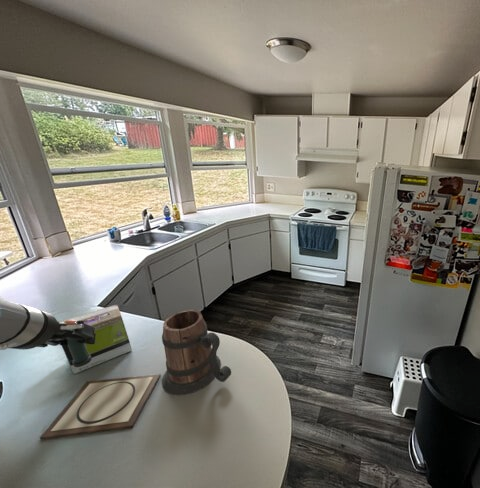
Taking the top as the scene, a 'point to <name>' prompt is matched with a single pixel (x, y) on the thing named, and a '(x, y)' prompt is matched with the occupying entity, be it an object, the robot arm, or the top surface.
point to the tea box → (102, 337)
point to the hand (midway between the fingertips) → (85, 340)
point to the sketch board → (103, 406)
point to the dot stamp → (77, 350)
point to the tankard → (190, 354)
